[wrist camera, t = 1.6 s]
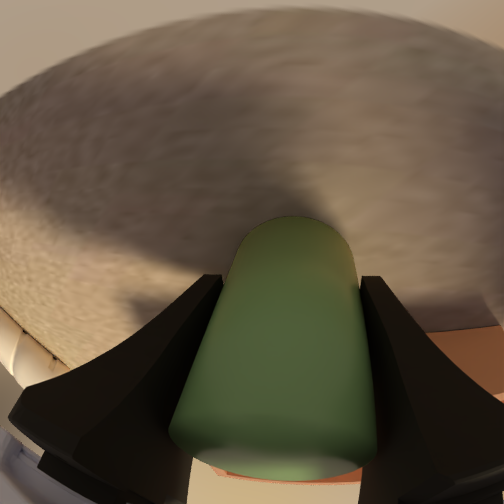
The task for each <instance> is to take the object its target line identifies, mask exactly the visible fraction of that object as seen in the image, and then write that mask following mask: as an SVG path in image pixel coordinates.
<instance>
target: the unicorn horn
mask: <svg viewBox="0 0 504 504" xmlns="http://www.w3.org/2000/svg"><path fill="white" fill-rule="evenodd" d="M52 357H53V355H52V354H51V353H49V352H48V351H47V350H46V349H45V348H44V347H42V346H41V345H40V344H39V343H38V342H37V341H35V340H34V339H33V338H32V337H31V336H30V335H29V334H28V333H27V334H25V333H24V332H23V329H22V328H21V327H20V326H19V325H18V324H17V323H16V322H15V321H14V320H13V319H12V318H11V317H10V316H9V315H8V314H7V313H6V312H5V311H4V310H3V309H2V308H0V361H1V363H2V364H3V365H4V366H5V368H6V369H7V370H8V371H9V372H10V374H11V375H13V376H14V377H15V379H16V381H17V382H18V383H19V384H20V385H21V386H22V388H23V389H25V388H26V387H27V386H31V385H34V384H37V383H40V382H43V381H46V380H49V379H52V378H54V377H57V376H59V375H62V374H64V373H66V372H69V371H70V369H69V368H68V367H67V366H66V365H65V364H63V363H62V362H61V361H59V360H58V359H57V360H55V359H54V358H52Z"/></svg>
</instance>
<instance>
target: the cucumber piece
mask: <svg viewBox="0 0 504 504" xmlns="http://www.w3.org/2000/svg"><path fill="white" fill-rule="evenodd" d="M168 432H169V435H170V438H171V439H172V440H173V442H174V443H175V444H176V445H177V446H178V447H179V448H181V449H182V450H183V451H184V452H186V453H188V454H189V455H191V456H192V457H194V458H196V459H198V460H200V461H202V462H204V463H206V464H209V465H211V466H213V467H216V468H219V469H222V470H225V471H228V472H232V473H235V474H239V475H244V476H249V477H254V478H260V479H268V480H280V481H307V480H318V479H325V478H331V477H336V476H340V475H344V474H347V473H350V472H353V471H355V470H357V469H360V468H361V467H363V466H365V465H367V464H368V463H369V462H371V461H372V460H373V459H374V457H375V456H376V454H377V429H376V413H375V400H374V389H373V379H372V370H371V361H370V353H369V345H368V338H367V331H366V324H365V318H364V312H363V306H362V300H361V294H360V289H359V283H358V278H357V273H356V268H355V263H354V258H353V255H352V252H351V250H350V248H349V245H348V244H347V242H346V241H345V240H344V238H343V237H342V236H341V235H340V234H339V233H338V232H337V231H335V230H334V229H333V228H331V227H330V226H328V225H326V224H324V223H322V222H320V221H317V220H314V219H311V218H306V217H298V216H289V217H280V218H275V219H272V220H269V221H267V222H265V223H263V224H260V225H259V226H257V227H256V228H254V229H253V230H252V231H251V232H250V233H248V235H247V236H246V237H245V238H244V239H243V241H242V242H241V244H240V246H239V248H238V251H237V253H236V256H235V258H234V261H233V263H232V266H231V268H230V271H229V273H228V276H227V278H226V281H225V283H224V286H223V288H222V291H221V293H220V296H219V298H218V301H217V303H216V306H215V309H214V311H213V314H212V316H211V319H210V321H209V324H208V326H207V329H206V331H205V334H204V337H203V339H202V342H201V344H200V347H199V349H198V352H197V355H196V357H195V360H194V362H193V365H192V368H191V370H190V373H189V375H188V378H187V381H186V383H185V386H184V388H183V391H182V394H181V396H180V399H179V402H178V404H177V407H176V410H175V412H174V415H173V417H172V420H171V423H170V425H169V428H168Z"/></svg>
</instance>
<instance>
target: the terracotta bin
mask: <svg viewBox="0 0 504 504" xmlns="http://www.w3.org/2000/svg"><path fill="white" fill-rule="evenodd" d="M426 334H427V336H428V337H429V338H430V339H431V340H432V341H433V342H434V343H435V344H436V346H437V347H438V348H439V349H440V350H441V351H442V352H443V353H444V354H445V355H446V356H447V357H448V358H449V359H450V360H451V361H452V362H453V363H454V364H456V365H457V366H458V367H459V368H460V369H461V370H462V371H463V372H464V373H466V374H467V375H468V376H469V377H470V378H471V379H473V380H474V381H475V382H476V383H477V384H479V385H480V386H481V387H482V388H484V389H485V390H486V391H487V392H489V393H490V394H491V395H493V396H494V397H496V398H497V399H498V400H500V401H501V402H503V403H504V331H503V329H502V327H501V325H499V326H491V327H483V328H475V329H466V330H456V331H445V332H433V333H426ZM210 466H211V465H210ZM211 467H212V469H213V470H214V471H215V472H216V474H217V475H218V476H224V477H229V478H236V479H243V480H250V481H259V482H269V483H280V484H299V485H300V484H301V485H345V484H361V477H362V467H361V468H360V469H357V470H355V471H353V472H350V473H347V474H344V475H340V476H336V477H331V478H325V479H318V480H307V481H280V480H268V479H260V478H254V477H249V476H244V475H239V474H235V473H232V472H228V471H225V470H222V469H219V468H216V467H213V466H211Z"/></svg>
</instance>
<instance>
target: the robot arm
mask: <svg viewBox="0 0 504 504" xmlns="http://www.w3.org/2000/svg"><path fill="white" fill-rule="evenodd" d="M223 286H224V285H223V280H222V275H212V274H204V275H203V276H202V277H201V278H199V279H198V280H197V281H196V282H195V283H194V284H193V285H191V286H190V287H189V288H188V289H187V290H186V291H185V292H184V293H183V294H182V295H181V296H179V297H178V298H177V299H176V300H175V301H174V302H173V303H171V304H170V305H169V306H168V307H167V308H166V309H165V310H164V311H162V312H161V313H160V314H159V315H157V316H156V317H155V318H154V319H152V320H151V321H150V322H149V323H148V324H146V325H145V326H144V327H143V328H141V329H140V330H139V331H137V332H136V333H135V334H133V335H132V336H130V337H129V338H128V339H126V340H125V341H123V342H122V343H120V344H119V345H117V346H116V347H114V348H112V349H111V350H109V351H107V352H105V353H104V354H102V355H100V356H98V357H97V358H95V359H93V360H91V361H90V362H88V363H86V364H84V365H82V366H80V367H77V368H75V369H73V370H71V371H69V372H66V373H64V374H62V375H59V376H57V377H54V378H52V379H49V380H46V381H43V382H40V383H37V384H34V385H31V386H27V387H26V388H25V389H24V391H23V392H22V394H21V396H20V397H19V399H18V400H17V402H16V404H15V406H14V407H13V409H12V411H11V412H10V414H9V416H8V419H9V421H10V422H11V423H12V424H13V425H14V426H15V427H16V428H17V429H18V430H20V431H21V432H22V433H23V434H24V435H26V436H27V437H28V438H29V439H31V440H32V441H33V442H34V443H36V444H37V445H38V446H39V447H41V448H42V449H44V450H45V451H44V453H43V455H42V457H40V456H39V455H37V454H36V453H35V452H33V451H32V450H30V449H29V448H27V447H26V446H24V445H23V444H22V442H20V441H19V440H17V438H15V437H14V436H13V435H12V434H10V433H9V432H8V431H7V430H5V429H4V428H3V427H2V426H1V425H0V504H187V495H188V487H189V479H190V472H191V466H192V460H193V457H192V456H191V455H189V454H188V453H186V452H184V451H183V450H182V449H181V448H179V447H178V446H177V445H176V444H175V443H174V442H173V440H172V439H171V438H170V435H169V432H168V428H169V425H170V423H171V420H172V417H173V415H174V412H175V410H176V407H177V404H178V402H179V399H180V396H181V394H182V391H183V388H184V386H185V383H186V381H187V378H188V375H189V373H190V370H191V368H192V365H193V362H194V360H195V357H196V355H197V352H198V349H199V347H200V344H201V342H202V339H203V337H204V334H205V331H206V329H207V326H208V324H209V321H210V319H211V316H212V314H213V311H214V309H215V306H216V303H217V301H218V298H219V296H220V293H221V291H222V288H223ZM360 294H361V300H362V306H363V312H364V318H365V324H366V331H367V338H368V345H369V353H370V361H371V370H372V379H373V389H374V400H375V413H376V429H377V454H376V456H375V457H374V459H373V460H372V461H371V462H369V463H368V464H367V465H365V466H363V467H362V477H361V486H360V494H359V501H358V504H504V500H503V494H502V491H504V403H503V402H501V401H500V400H498V399H497V398H496V397H494V396H493V395H491V394H490V393H489V392H487V391H486V390H485V389H484V388H482V387H481V386H480V385H479V384H477V383H476V382H475V381H474V380H473V379H471V378H470V377H469V376H468V375H467V374H466V373H464V372H463V371H462V370H461V369H460V368H459V367H458V366H457V365H456V364H454V363H453V362H452V361H451V360H450V359H449V358H448V357H447V356H446V355H445V354H444V353H443V352H442V351H441V350H440V349H439V348H438V347H437V346H436V344H435V343H434V342H433V341H432V340H431V339H430V338H429V337H428V336H427V334H426V333H425V332H424V331H423V330H422V329H421V327H420V326H419V325H418V324H417V323H416V321H415V320H414V319H413V318H412V316H411V315H410V314H409V313H408V311H407V310H406V309H405V308H404V306H403V305H402V304H401V303H400V301H399V300H398V299H397V297H396V296H395V295H394V293H393V292H392V291H391V289H390V288H389V287H388V285H387V284H386V283H385V281H384V280H383V279H382V278H381V277H380V276H362V279H361V286H360Z"/></svg>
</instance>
